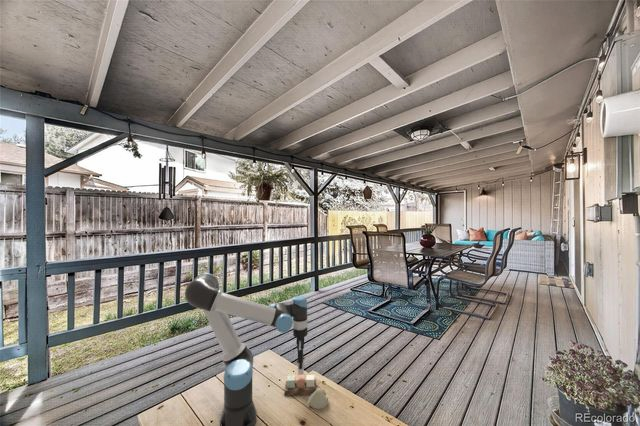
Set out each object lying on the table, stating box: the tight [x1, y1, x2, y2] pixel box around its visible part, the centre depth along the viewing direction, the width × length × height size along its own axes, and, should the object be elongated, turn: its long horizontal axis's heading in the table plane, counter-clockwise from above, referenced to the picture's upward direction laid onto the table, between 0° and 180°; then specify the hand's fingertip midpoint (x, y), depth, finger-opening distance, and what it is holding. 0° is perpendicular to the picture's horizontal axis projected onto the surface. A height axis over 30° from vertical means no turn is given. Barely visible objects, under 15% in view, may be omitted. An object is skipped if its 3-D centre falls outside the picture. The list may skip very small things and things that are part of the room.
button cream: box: [305, 374, 315, 388], centre depth 125 cm, size 4×4×4 cm
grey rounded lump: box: [307, 387, 329, 410], centre depth 115 cm, size 8×8×8 cm
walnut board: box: [283, 379, 317, 396], centre depth 125 cm, size 16×8×2 cm, turn 92°
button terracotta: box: [296, 374, 306, 388], centre depth 125 cm, size 4×4×4 cm
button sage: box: [286, 374, 296, 389], centre depth 125 cm, size 4×4×4 cm
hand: (300, 373), depth 125 cm, fingers closed
